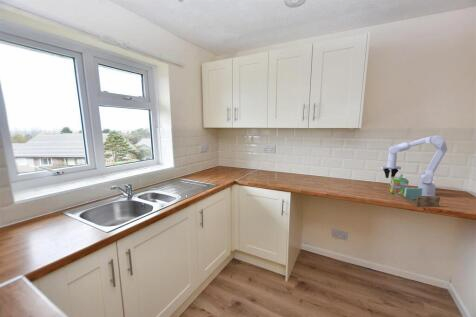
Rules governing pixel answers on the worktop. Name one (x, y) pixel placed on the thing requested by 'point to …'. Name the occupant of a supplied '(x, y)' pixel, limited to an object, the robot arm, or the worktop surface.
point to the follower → (413, 193)
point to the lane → (421, 200)
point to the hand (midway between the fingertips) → (389, 177)
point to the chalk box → (398, 185)
